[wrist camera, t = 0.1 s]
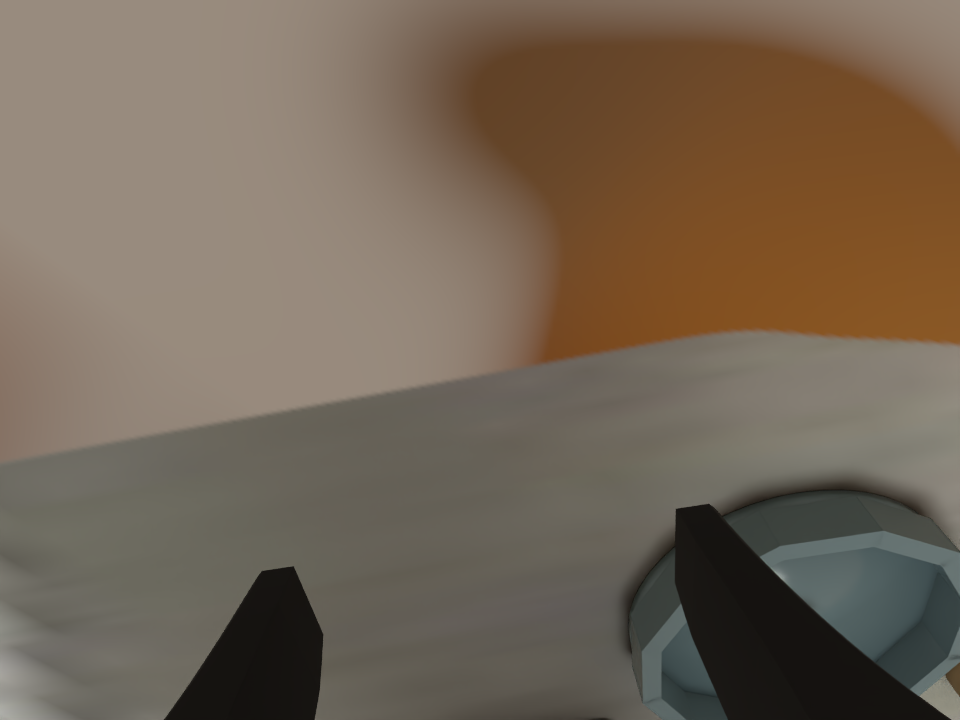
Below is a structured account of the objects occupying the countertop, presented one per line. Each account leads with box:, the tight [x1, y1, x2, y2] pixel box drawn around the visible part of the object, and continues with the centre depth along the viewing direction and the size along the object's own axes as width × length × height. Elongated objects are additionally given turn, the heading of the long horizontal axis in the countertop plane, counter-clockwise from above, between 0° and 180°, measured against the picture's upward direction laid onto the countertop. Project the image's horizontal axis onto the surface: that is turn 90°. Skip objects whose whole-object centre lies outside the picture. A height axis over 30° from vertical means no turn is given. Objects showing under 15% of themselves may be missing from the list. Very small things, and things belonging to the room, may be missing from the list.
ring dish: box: [628, 490, 960, 720], centre depth 29 cm, size 14×14×2 cm
